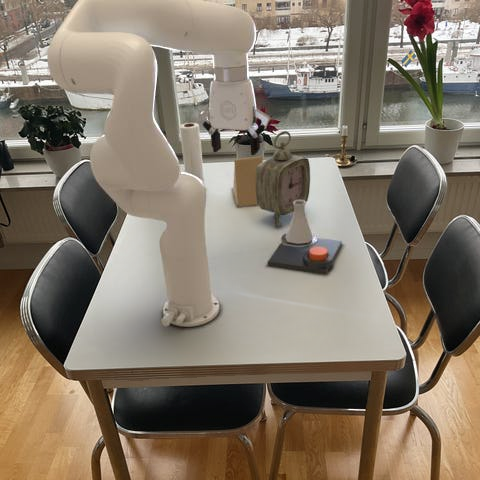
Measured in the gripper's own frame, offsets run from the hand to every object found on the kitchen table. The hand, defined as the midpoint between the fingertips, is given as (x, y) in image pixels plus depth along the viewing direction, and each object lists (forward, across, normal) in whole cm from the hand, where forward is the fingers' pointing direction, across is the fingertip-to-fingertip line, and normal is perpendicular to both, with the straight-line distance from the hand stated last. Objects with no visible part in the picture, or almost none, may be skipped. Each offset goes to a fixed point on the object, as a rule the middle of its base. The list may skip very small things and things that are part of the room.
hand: (235, 151), depth 127 cm
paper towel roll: (+26, -31, +35) cm, 54 cm away
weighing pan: (+23, +15, +5) cm, 28 cm away
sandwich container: (+26, -12, +35) cm, 46 cm away
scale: (+26, +17, +2) cm, 31 cm away
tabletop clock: (+26, +4, +22) cm, 35 cm away
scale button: (+24, +21, -3) cm, 32 cm away
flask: (+23, +14, +4) cm, 28 cm away
